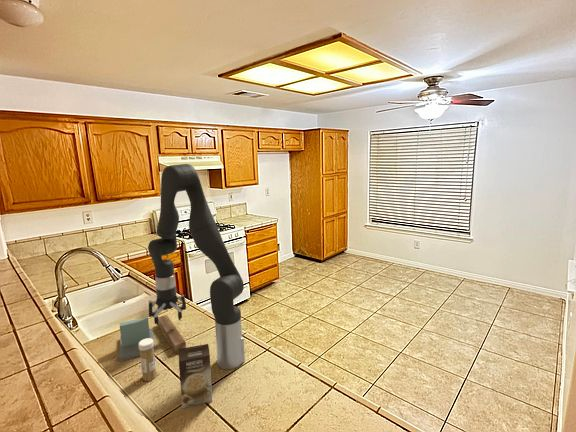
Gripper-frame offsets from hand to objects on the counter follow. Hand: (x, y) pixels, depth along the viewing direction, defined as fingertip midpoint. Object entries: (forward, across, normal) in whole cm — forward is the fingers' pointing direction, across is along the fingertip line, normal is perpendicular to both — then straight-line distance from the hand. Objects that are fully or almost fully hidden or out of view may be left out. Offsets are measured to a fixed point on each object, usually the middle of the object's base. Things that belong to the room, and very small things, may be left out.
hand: (168, 321), depth 124 cm
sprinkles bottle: (+7, -9, -22) cm, 25 cm away
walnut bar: (+7, 0, 0) cm, 7 cm away
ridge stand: (+7, -12, 0) cm, 14 cm away
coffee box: (+6, +4, -39) cm, 40 cm away
